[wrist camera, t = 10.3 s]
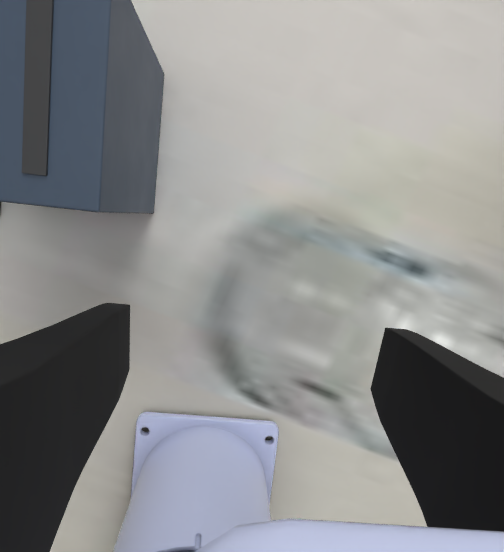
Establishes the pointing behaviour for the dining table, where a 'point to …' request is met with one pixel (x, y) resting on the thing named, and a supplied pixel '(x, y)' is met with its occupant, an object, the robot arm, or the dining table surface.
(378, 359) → the robot arm
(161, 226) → the dining table surface
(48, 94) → the toaster body
